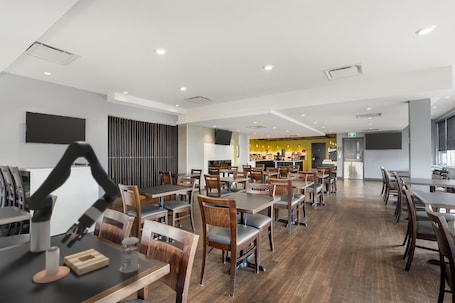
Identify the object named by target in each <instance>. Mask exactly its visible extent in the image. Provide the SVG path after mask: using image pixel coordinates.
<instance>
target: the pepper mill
mask: <svg viewBox="0 0 455 303" xmlns="http://www.w3.org/2000/svg"><path fill="white" fill-rule="evenodd" d="M59 266H60V248H59V247H58V246H50V248H48V249H47V250H45V270H46V276H53V275H56V274H58V273H59Z"/></svg>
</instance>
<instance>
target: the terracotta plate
mask: <svg viewBox="0 0 455 303" xmlns="http://www.w3.org/2000/svg"><path fill="white" fill-rule="evenodd" d="M70 272H71V268H70V267H69V266H62V265H61V266H60V265H59V273H58V274H56V275H53V276H46V269H43V270H41V271H39V272H38V273H37V272H36V274H34V276H33V277H32V278H33V279H32V281H33V282H34V283H37V284H46V283H52V282H55V281H58V280H61V279H63V278H64V277H66V276H68V275H69V274H70Z"/></svg>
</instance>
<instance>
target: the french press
mask: <svg viewBox="0 0 455 303" xmlns="http://www.w3.org/2000/svg"><path fill="white" fill-rule="evenodd" d="M133 221H134V220H133V218H129V219H128V222H130V223H129V224H130V225H129V230H130V231H129V235H130V236H129V237H126V238H124V239H123V240H122V241H121V244H120V247H122V245H123V246H124V247H123V249H122V251H120V253H121V267H120V268H119V271H120V272H121V273H125V274H127V273H128V274H129V272H130V273H133V271H134V272H136V271H137V269H138V268H139V265H140V264H139V247H138V246H133V244H137V243H139V241H140V239H139V238H137V237H134V236H131V235H132V234H131V233H132V232H131V231H132V226H131V225H132V222H133ZM128 245H129V246H128ZM125 246H126V247H125ZM139 269H140V268H139ZM139 269H138V270H139ZM135 270H136V271H135Z"/></svg>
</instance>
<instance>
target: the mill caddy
mask: <svg viewBox="0 0 455 303" xmlns="http://www.w3.org/2000/svg"><path fill="white" fill-rule="evenodd" d="M63 258H64V261H63V262H64V264H65V265H66V266H67V267H69V268H70V270H71V269H72V271H73V272H75V273H76V274H77V275H79V276H81V275H84V274H86V273H88V272H92V271H94V270H98V269H101V268H103V267H107V266H109V265H110V258H108V257H107V256H105V255H103V253H100V252H98V251H97V250H95V249H94V248H91V249H88V250H84V251H81V252H77V253H74V254H71V255H67V256H64V257H63Z"/></svg>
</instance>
